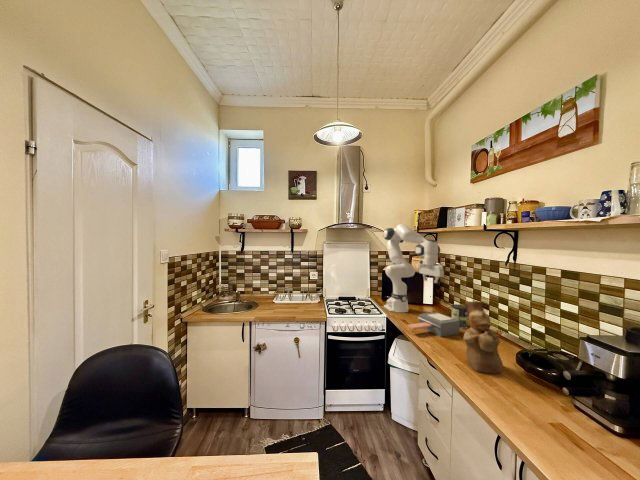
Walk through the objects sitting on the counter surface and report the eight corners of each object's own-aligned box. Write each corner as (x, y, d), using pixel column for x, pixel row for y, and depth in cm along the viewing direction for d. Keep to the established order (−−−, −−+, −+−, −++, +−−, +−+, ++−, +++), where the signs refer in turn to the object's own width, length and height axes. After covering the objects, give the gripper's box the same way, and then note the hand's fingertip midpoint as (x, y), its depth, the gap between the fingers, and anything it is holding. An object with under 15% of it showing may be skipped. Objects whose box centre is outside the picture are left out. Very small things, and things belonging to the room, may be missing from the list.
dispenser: (417, 326, 174) (418, 314, 174) (436, 323, 180) (436, 311, 180) (439, 337, 156) (439, 323, 156) (459, 333, 162) (459, 320, 162)
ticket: (407, 326, 163) (407, 324, 163) (431, 323, 170) (431, 321, 170) (413, 329, 158) (413, 327, 158) (437, 326, 165) (437, 324, 165)
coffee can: (468, 325, 177) (469, 306, 177) (466, 329, 169) (467, 309, 169) (452, 322, 183) (452, 303, 183) (449, 326, 175) (450, 306, 175)
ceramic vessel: (473, 373, 115) (474, 309, 114) (454, 351, 137) (455, 297, 136) (510, 376, 113) (512, 311, 112) (485, 354, 134) (486, 299, 134)
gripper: (446, 263, 168) (445, 284, 168) (424, 260, 187) (423, 279, 187) (439, 264, 165) (438, 284, 166) (417, 260, 185) (416, 279, 185)
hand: (430, 281), depth 176 cm, fingers open, 8 cm apart
